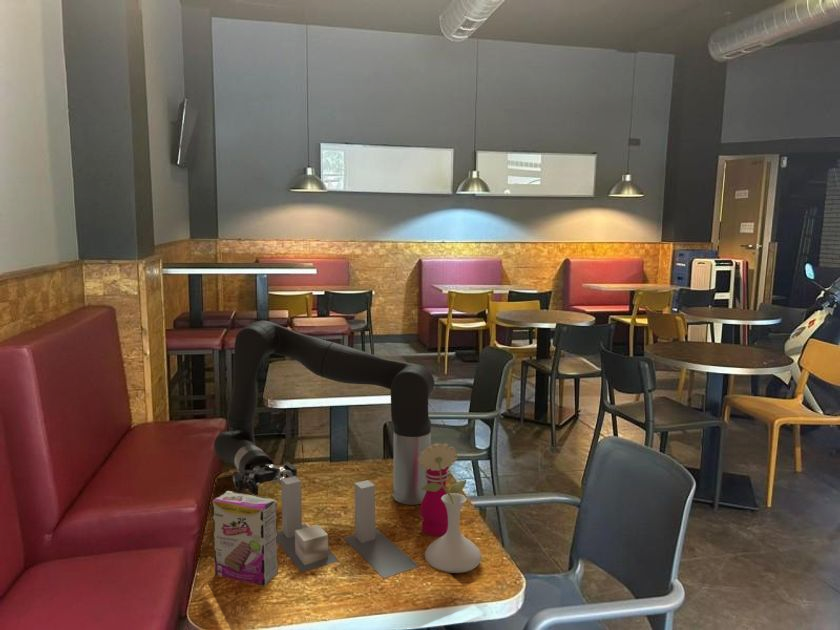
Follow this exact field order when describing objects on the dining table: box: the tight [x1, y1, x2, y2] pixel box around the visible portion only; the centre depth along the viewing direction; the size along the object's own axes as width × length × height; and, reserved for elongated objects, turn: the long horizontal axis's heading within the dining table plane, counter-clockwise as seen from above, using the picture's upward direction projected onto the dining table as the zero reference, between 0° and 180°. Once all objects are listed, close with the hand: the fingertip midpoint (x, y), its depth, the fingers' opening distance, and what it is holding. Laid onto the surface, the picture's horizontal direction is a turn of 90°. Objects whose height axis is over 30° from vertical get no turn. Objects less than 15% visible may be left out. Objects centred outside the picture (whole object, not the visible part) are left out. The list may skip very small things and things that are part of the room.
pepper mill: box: [419, 443, 450, 537], centre depth 137 cm, size 7×7×20 cm
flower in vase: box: [418, 443, 482, 574], centre depth 123 cm, size 13×11×25 cm
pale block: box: [295, 524, 329, 565], centre depth 124 cm, size 5×5×5 cm
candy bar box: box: [212, 490, 279, 586], centre depth 117 cm, size 11×5×16 cm, turn 71°
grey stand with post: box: [277, 476, 340, 573], centre depth 127 cm, size 8×18×13 cm, turn 32°
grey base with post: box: [342, 479, 420, 579], centre depth 125 cm, size 8×18×13 cm, turn 32°
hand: (275, 487), depth 141 cm, fingers open, 8 cm apart
